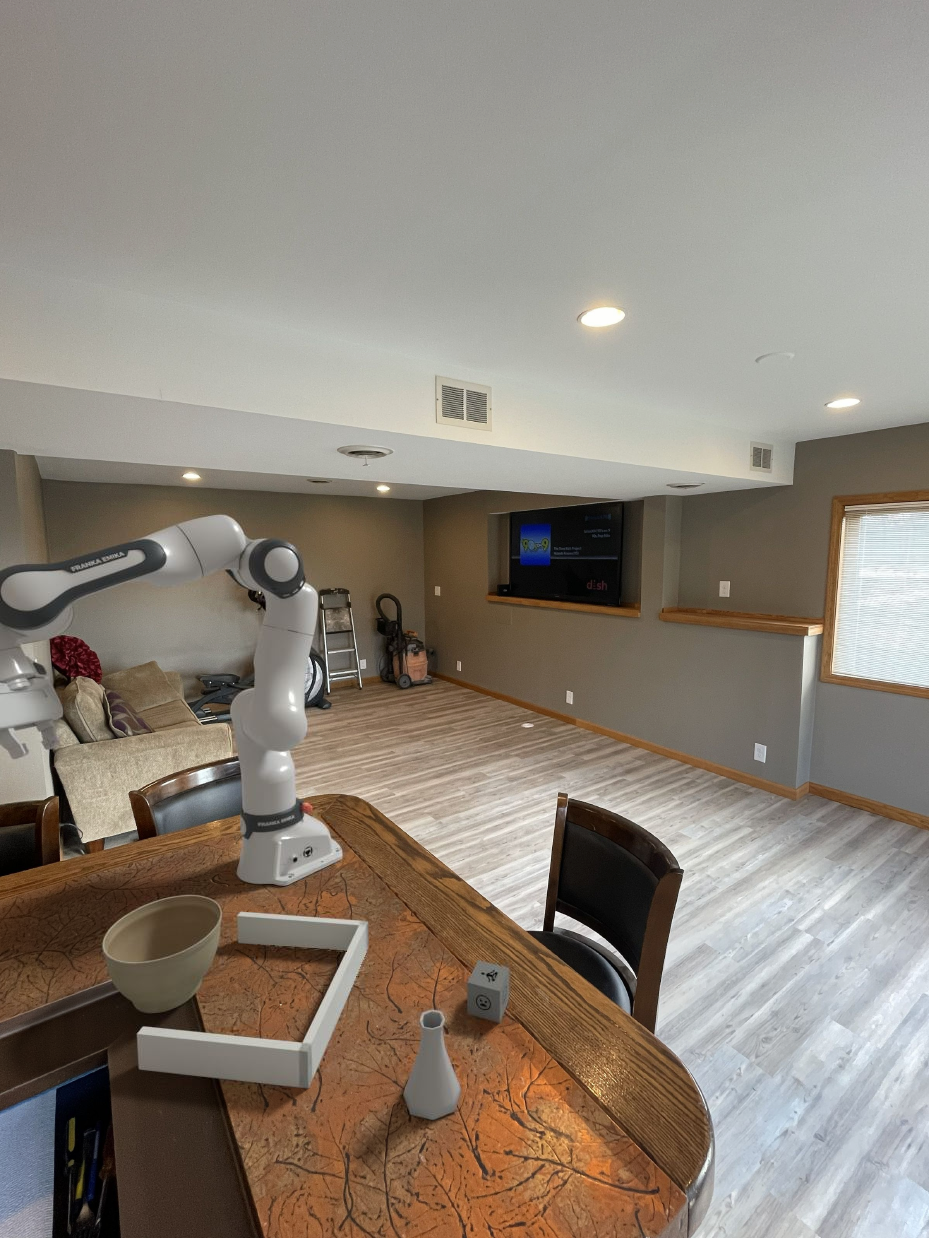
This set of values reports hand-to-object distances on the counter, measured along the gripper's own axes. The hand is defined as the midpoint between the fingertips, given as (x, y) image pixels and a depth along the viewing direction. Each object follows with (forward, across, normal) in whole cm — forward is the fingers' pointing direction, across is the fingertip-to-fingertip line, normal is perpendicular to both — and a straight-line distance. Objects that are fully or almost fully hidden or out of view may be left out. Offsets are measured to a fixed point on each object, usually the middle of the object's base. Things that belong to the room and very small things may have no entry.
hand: (38, 751), depth 91 cm
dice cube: (+65, -19, -46) cm, 82 cm away
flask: (+63, -31, -36) cm, 78 cm away
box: (+50, -11, -17) cm, 54 cm away
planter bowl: (+43, -6, -3) cm, 43 cm away
